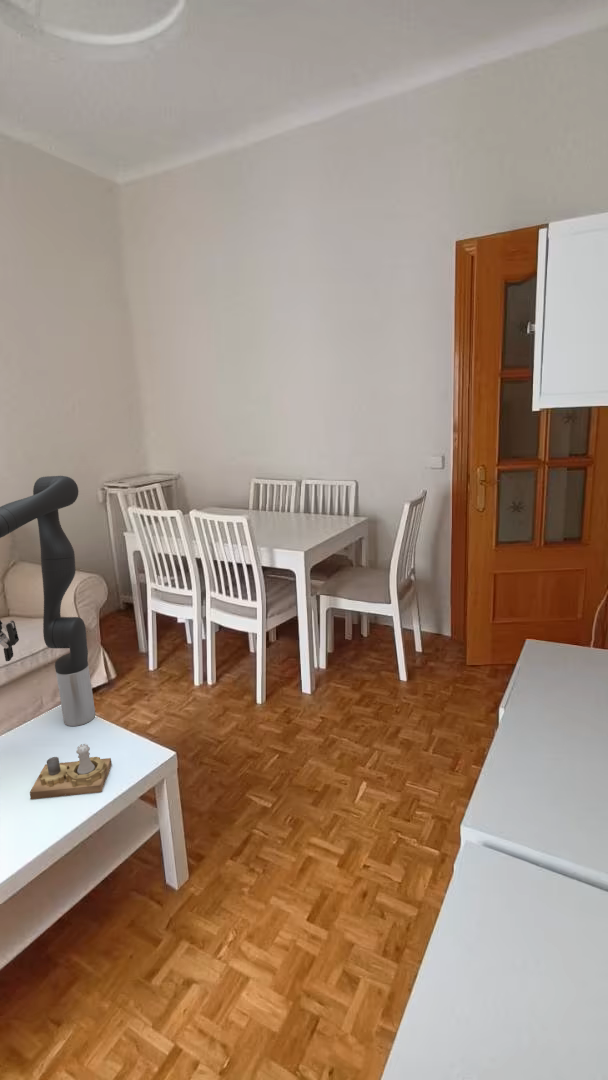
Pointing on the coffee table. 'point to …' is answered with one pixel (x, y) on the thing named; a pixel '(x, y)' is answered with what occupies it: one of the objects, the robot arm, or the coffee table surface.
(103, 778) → the gear board
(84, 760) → the rook chess piece
